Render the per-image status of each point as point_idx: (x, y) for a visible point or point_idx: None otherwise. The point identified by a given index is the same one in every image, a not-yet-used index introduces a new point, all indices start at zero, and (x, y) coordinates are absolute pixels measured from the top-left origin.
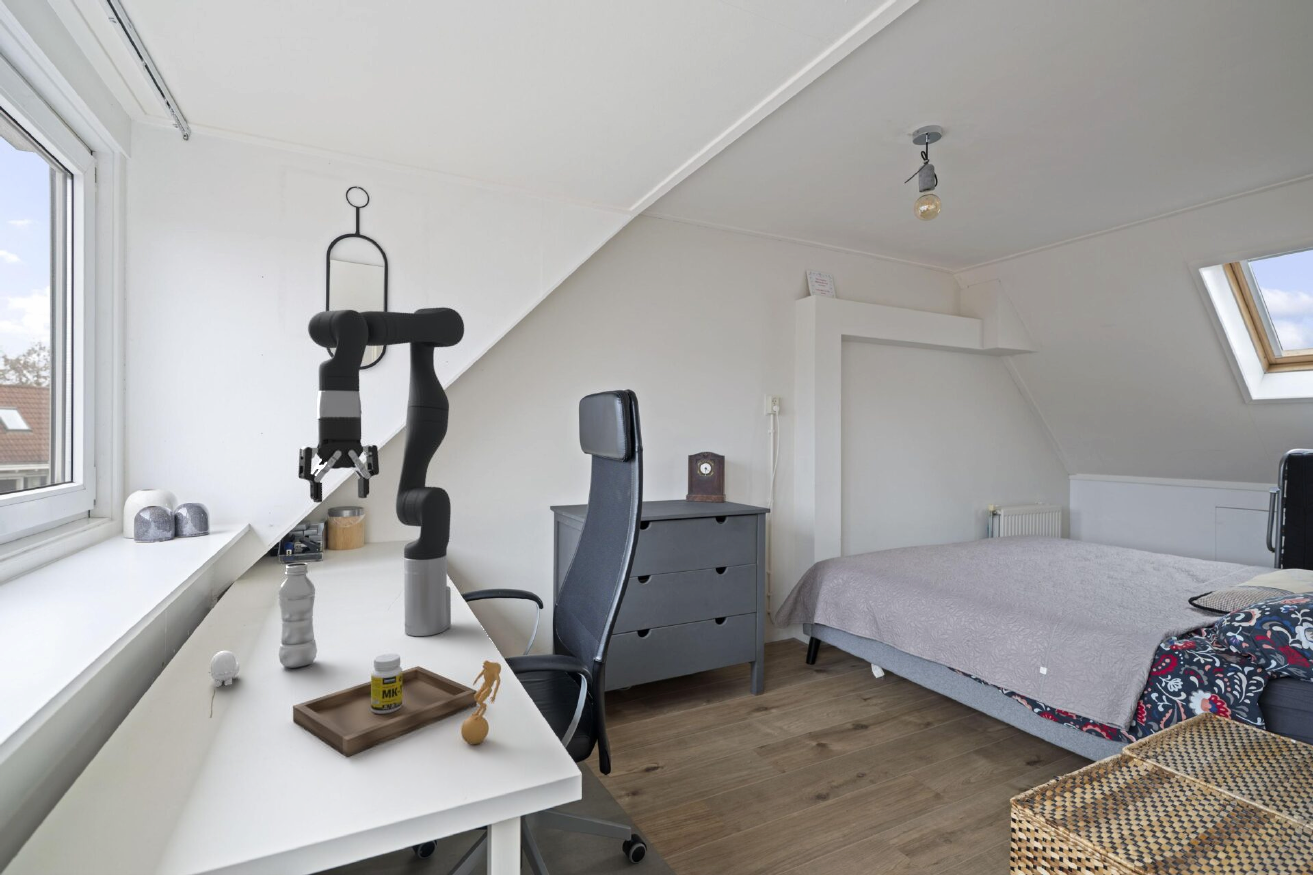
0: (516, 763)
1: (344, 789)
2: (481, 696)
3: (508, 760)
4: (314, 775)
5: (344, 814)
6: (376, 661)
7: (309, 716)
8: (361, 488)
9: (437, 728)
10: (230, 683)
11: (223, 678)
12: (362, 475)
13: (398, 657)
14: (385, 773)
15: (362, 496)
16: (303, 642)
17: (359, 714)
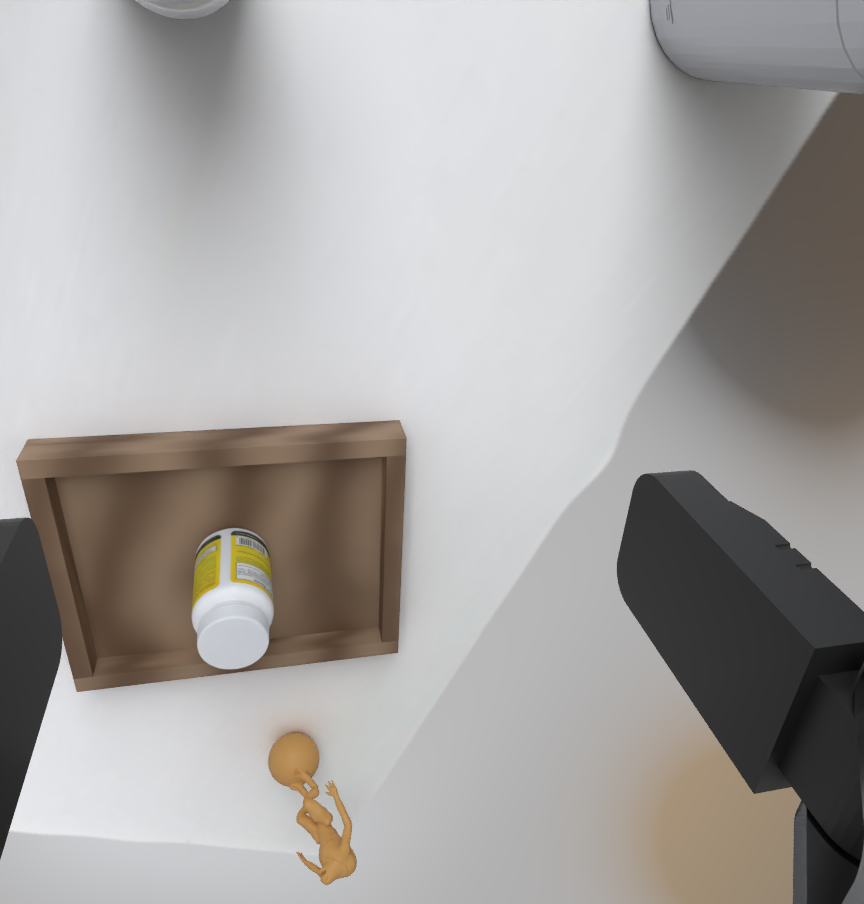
0: (297, 811)
1: (43, 748)
2: (303, 826)
3: (294, 800)
4: None
5: (21, 800)
6: (198, 650)
7: None
8: (684, 633)
9: None
10: None
11: None
12: (801, 849)
13: (256, 659)
14: (121, 742)
15: (625, 578)
16: (167, 3)
17: (169, 543)
